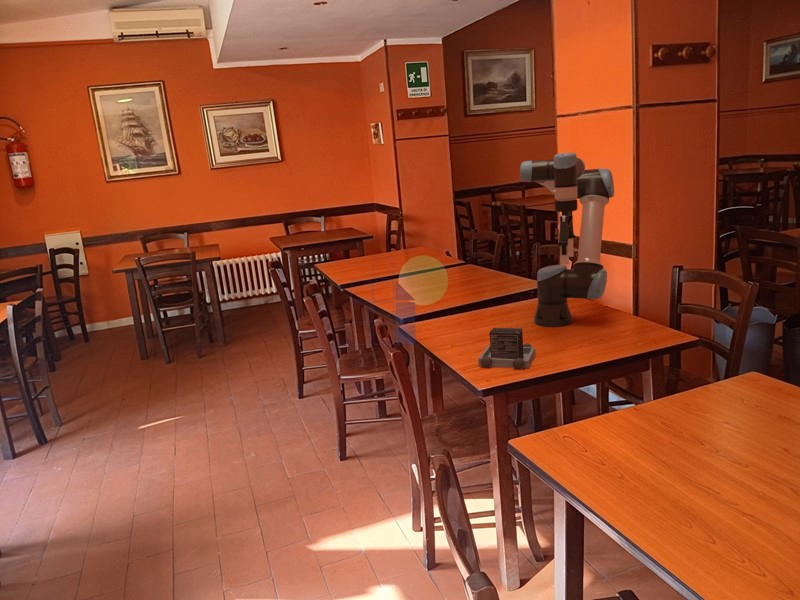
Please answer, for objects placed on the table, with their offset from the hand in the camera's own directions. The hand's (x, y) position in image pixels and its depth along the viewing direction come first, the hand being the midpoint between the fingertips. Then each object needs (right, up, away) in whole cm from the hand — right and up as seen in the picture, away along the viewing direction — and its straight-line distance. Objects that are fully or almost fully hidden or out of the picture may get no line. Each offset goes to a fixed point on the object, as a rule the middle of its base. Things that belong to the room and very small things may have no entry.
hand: (567, 260), depth 211 cm
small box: (-21, -35, -1) cm, 41 cm away
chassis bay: (-21, -35, -1) cm, 41 cm away
